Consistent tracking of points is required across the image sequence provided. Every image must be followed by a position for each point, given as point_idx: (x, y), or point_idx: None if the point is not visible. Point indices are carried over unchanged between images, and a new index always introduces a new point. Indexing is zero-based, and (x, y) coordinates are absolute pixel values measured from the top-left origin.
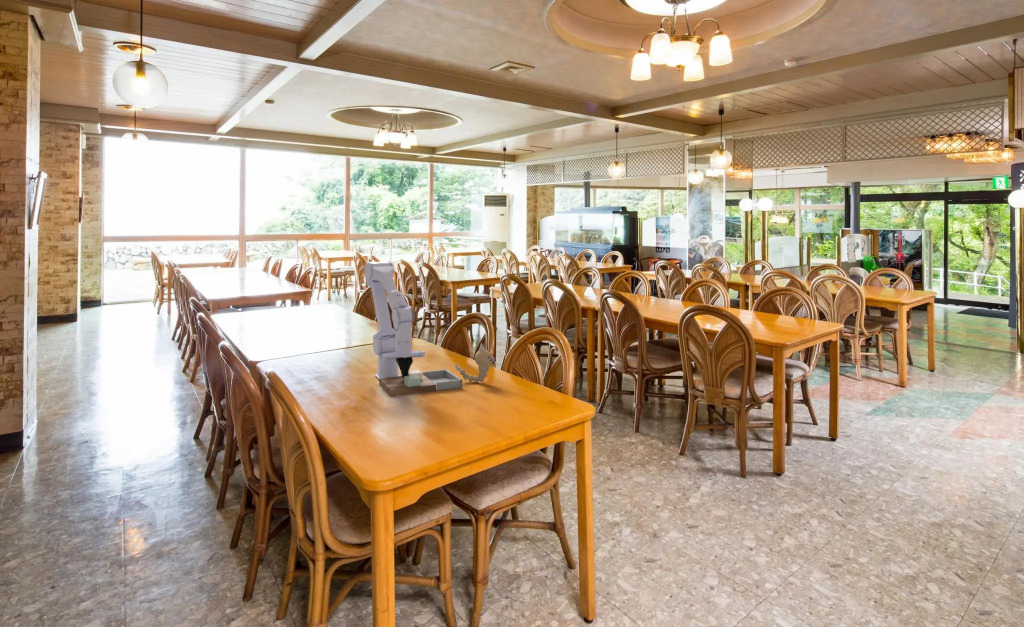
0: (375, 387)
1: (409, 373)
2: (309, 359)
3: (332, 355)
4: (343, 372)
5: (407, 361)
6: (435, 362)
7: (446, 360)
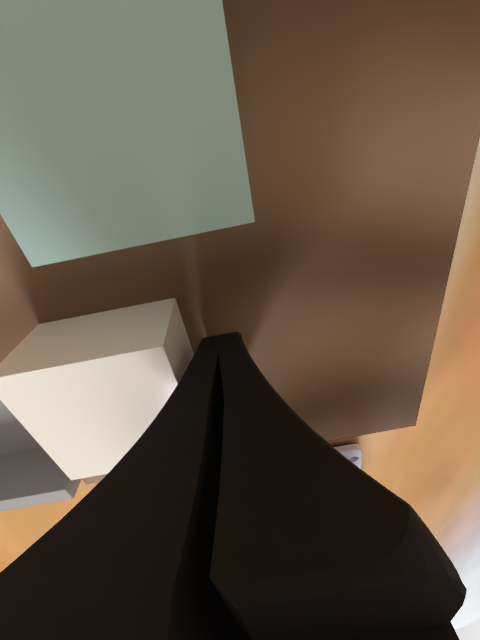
0: None
1: (164, 373)
2: (472, 620)
3: None
4: (452, 548)
5: (142, 600)
6: None
7: None
